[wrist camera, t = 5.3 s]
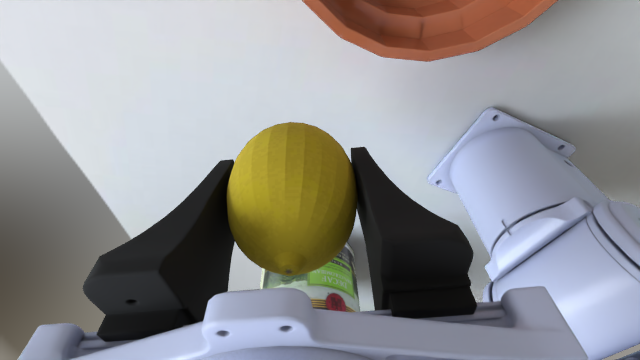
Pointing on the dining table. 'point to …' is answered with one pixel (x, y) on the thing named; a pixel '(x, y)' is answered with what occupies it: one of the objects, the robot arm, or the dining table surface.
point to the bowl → (426, 24)
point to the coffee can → (323, 283)
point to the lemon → (292, 199)
